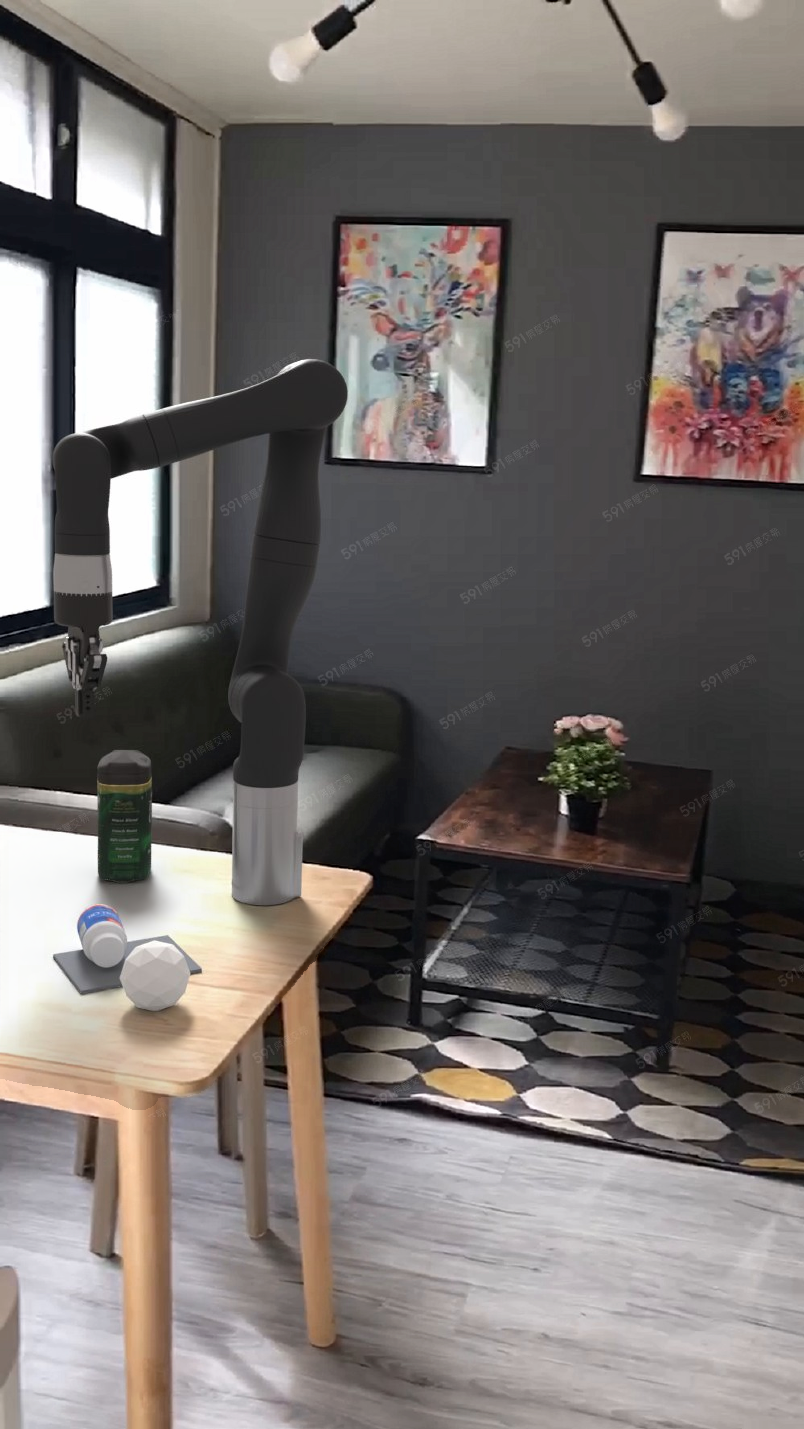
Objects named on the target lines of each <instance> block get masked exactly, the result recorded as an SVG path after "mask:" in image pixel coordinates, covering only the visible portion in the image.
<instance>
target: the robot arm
mask: <svg viewBox="0 0 804 1429" xmlns="http://www.w3.org/2000/svg"><path fill="white" fill-rule="evenodd" d="M348 392H349V391H348V386H347V382H346V380H345V377H344V376H343V375H342V373H341V372H340V371H339V370H338V369H337V367H335V366H333V365H332V364H331V363H328V362H326V361H324V360H321V359H316V358H315V359H313V358H307V359H301V360H298V361H296V362H292V363H290V364H288V365H286V366H285V367H283V368H282V369H281V370H280V371H279V372H277V374H276V375H275V376H273V377H271V378H270V377H269V378H268V379H267V380H264V381H261V382H259V383H256V384H254V385H252V386H248V387H245V388H243V389H242V388H241V389H240V390H235V391H232V392H228V393H224V394H220V395H216V396H211V397H207V398H203V399H202V398H201V399H197V400H193V401H188V402H183V403H179V404H175V405H171V406H167V407H164V408H161V409H157V410H153V411H150V412H146V413H143V414H139V415H136V416H134V417H131V418H128V419H126V420H124V421H122V422H118V423H114V424H109V425H105V426H101V427H100V426H99V427H95V428H92V429H87V430H84V431H83V430H82V431H79V432H76V433H71V434H68V435H65V437H63V438H61V439H60V440H59V441H58V443H56V445H55V447H54V449H53V453H52V457H51V461H52V467H53V469H54V475H55V476H54V478H55V496H56V514H55V518H54V553H55V554H54V563H53V571H52V572H53V573H52V574H53V577H52V578H53V620H54V622H55V623H56V624H57V625H59V626H63V627H68V628H67V629H68V630H67V637H65V639H64V640H65V641H62V644H61V648H62V653H63V656H64V661H65V666H66V671H67V676H68V680H69V682H72V683H71V684H72V687H73V689H74V703H75V704H74V705H75V706H74V708H75V712H74V713H75V715H76V716H77V717H79V719H88V718H89V719H90V718H94V716H95V715H96V713H95V710H96V709H95V690H97V688H101V685H102V681H103V677H104V673H105V670H106V666H107V662H108V656H107V654H106V653H102V652H103V649H104V646H103V643H104V642H103V639H102V638H101V637H100V627H102V626H103V627H105V626H109V625H110V624H112V622H113V619H114V618H113V616H114V615H113V567H112V562H111V534H110V533H111V529H110V521H109V520H110V519H109V507H110V494H111V483H112V482H111V480H113V479H115V478H118V477H121V476H124V475H127V474H129V473H133V472H138V471H139V472H142V471H148V470H153V469H157V468H161V467H165V466H169V465H171V464H174V463H178V462H181V461H186V460H188V459H191V458H193V457H197V456H200V455H203V454H206V453H208V452H212V451H214V450H216V449H219V448H222V447H225V446H228V445H231V444H234V443H237V442H240V441H245V440H247V439H251V438H254V437H259V436H263V435H267V434H268V446H267V447H268V449H267V460H266V466H265V471H264V476H263V482H262V485H261V490H260V494H259V495H260V496H259V499H258V500H259V501H258V505H257V512H256V517H255V524H254V530H253V535H252V541H251V542H252V543H251V549H250V558H249V568H248V577H247V584H246V585H247V586H246V592H245V593H246V594H245V603H244V604H245V605H244V614H243V622H242V624H243V625H242V631H241V636H240V640H239V644H238V649H237V653H236V657H235V661H234V665H233V667H232V673H231V677H230V681H229V686H228V693H227V694H228V695H227V696H228V697H227V698H228V705H229V708H230V711H231V713H232V715H233V716H234V718H235V719H236V720H237V721H239V723H241V729H240V730H241V731H240V732H241V734H240V749H239V755H238V757H236V759H234V762H233V767H232V779H233V780H232V838H231V841H232V847H231V848H232V851H231V852H232V853H231V856H232V858H231V896H232V897H233V899H235V900H236V901H238V902H241V903H244V904H248V905H253V906H273V905H279V904H284V903H287V902H291V900H293V899H295V898H298V897H301V896H302V882H303V881H302V880H303V879H302V876H303V841H304V840H303V838H304V837H303V833H302V831H300V830H298V815H299V814H298V811H299V810H298V809H299V808H298V807H299V805H298V804H299V803H298V802H299V801H298V800H299V773H300V768H301V765H302V764H303V760H304V753H305V738H306V722H307V721H306V720H307V719H306V718H307V714H306V713H307V708H306V707H307V706H306V705H307V704H306V697H305V693H304V690H303V688H302V686H301V684H300V683H299V682H298V681H297V680H296V679H295V678H294V677H293V676H291V675H290V674H289V661H290V649H291V640H292V638H293V637H292V636H293V632H294V628H295V626H296V623H297V620H298V618H299V616H300V613H301V611H302V610H303V607H304V605H305V603H306V600H307V599H308V597H309V595H310V592H311V589H312V587H313V583H314V581H315V580H314V579H315V576H316V570H317V565H318V558H319V551H320V544H321V535H322V534H321V532H322V513H321V509H322V508H321V499H320V498H321V497H320V488H319V487H320V486H319V470H320V469H319V466H320V460H321V454H322V449H323V444H324V443H323V442H324V439H325V434H326V431H327V427H329V426H330V425H331V424H333V423H335V422H336V421H337V419H339V417H340V416H341V415H342V413H343V412H344V410H345V408H346V405H347V402H348V396H349V395H348Z"/></svg>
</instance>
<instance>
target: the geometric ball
mask: <svg viewBox="0 0 804 1429" xmlns="http://www.w3.org/2000/svg"><path fill="white" fill-rule="evenodd" d="M190 976H191V974H190V971H189V968H188V965H187V963H186V960H185V957H184V956H183V955H182V954H181V953H180V952H179V950H178V949H177V948H176V947H175V946H174V945H173V944H168V943H164V942H159V941H155V940H154V941H151V942H148V943H145V944H142V945H140V946H137V947H135V948H134V950H133V951H132V952H131V953H130V955H129V956H128V957H127V958H126V960H125V963H124V966H123V969H122V972H121V975H120V981H121V983H122V988H123V990H124V992H125V994H126V997H128V999H129V1000H130V1001H131V1002H132V1003H133V1005H134V1006H135V1007H136V1008H138V1009H141V1010H142V1009H143V1010H148V1011H152V1012H158V1011H161V1010H164V1009H166V1008H169V1007H171V1006H175V1005H176V1004H177V1002H179V1000H180V999H181V998H182V997H183V995H184V994H186V990H187V987H188V984H189V980H190Z"/></svg>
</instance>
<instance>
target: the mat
mask: <svg viewBox="0 0 804 1429" xmlns="http://www.w3.org/2000/svg"><path fill="white" fill-rule="evenodd" d="M154 940H155V941H159V942H164V943H168V944H173V945H174V946H175V947H176V948H177V949H178V950H179V952H180V953H181V954H182V955H183V956H184V957H185V960H186V963H187V965H188V968H189V971H190V975H191V974H197V973H201V972H203V968H202V967H201V966H200V965H199V964H198V963H197V962H196V961H195V960H194V959H193V958H192V957H191V956H190V955H189V954H187V952H186V951H185V950H183V949H182V947H180V946H179V944H177V943H176V942H175V941H174V939H173V938H172V937H171V936H169V935H168V934H166V935H165V934H164V935H160V936H155V937H154V936H153V937H149V938H142V939H136V940H131V941H127V947H126V950H125V952H124V956H123V958H122V960H121V961H120V962H119V963H118V964H116V965H114V966H112V967H107V968H106V967H101V966H98V965H97V964H96V963H95V962H93V961H91V960H90V959H88V957H87V956H86V955H85V953H84V951H83V948H82V949H77V950H70V951H65V952H59V953H53V954H52V956H53V959H54V960H55V962H56V963H57V964H58V966H59V967H60V968H61V969H62V971H63V973H64V974H65V975H66V976H67V977H68V979H69V980H70V982H71V983H72V984H73V985H74V987H75V988H76V990H78V992H79V993H80V995H83V994H88V993H93V992H99V991H105V990H111V989H115V988H120V987H121V988H123V986H122V983H121V981H120V975H121V972H122V969H123V966H124V963H125V960H126V958H127V957H128V956H129V955H130V953H131V952H132V951H133V950H134V948H135V947H137V946H140V945H142V944H145V943H148V942H151V941H154Z"/></svg>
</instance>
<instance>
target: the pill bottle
mask: <svg viewBox="0 0 804 1429" xmlns="http://www.w3.org/2000/svg"><path fill="white" fill-rule="evenodd" d="M76 929H77V934H78V936H79V937H78V938H79V941H80V943H81V948H82V949H83V951H84V953H85V955H86V956H87V957H88V959H90V960H91V961H93V962H95V963H96V964H97V965H98V966H101V967H106V968H107V967H112V966H114V965H116V964H118V963H119V962H120V961H121V960H122V958H123V956H124V952H125V950H126V947H127V942H128V938H127V934H126V931H125V928H124V925H123V924H122V922H121V918H120V916H119V914H118V912H117V911H116V910H115V909H114V908H113V907H111V906H110V905H107V904H101V903H100V904H98V903H97V904H93V905H90V906H88V907H87V908H86V909H84V910H83V911H82V912H81V914H80V915H79V916H78V920H77V923H76Z"/></svg>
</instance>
